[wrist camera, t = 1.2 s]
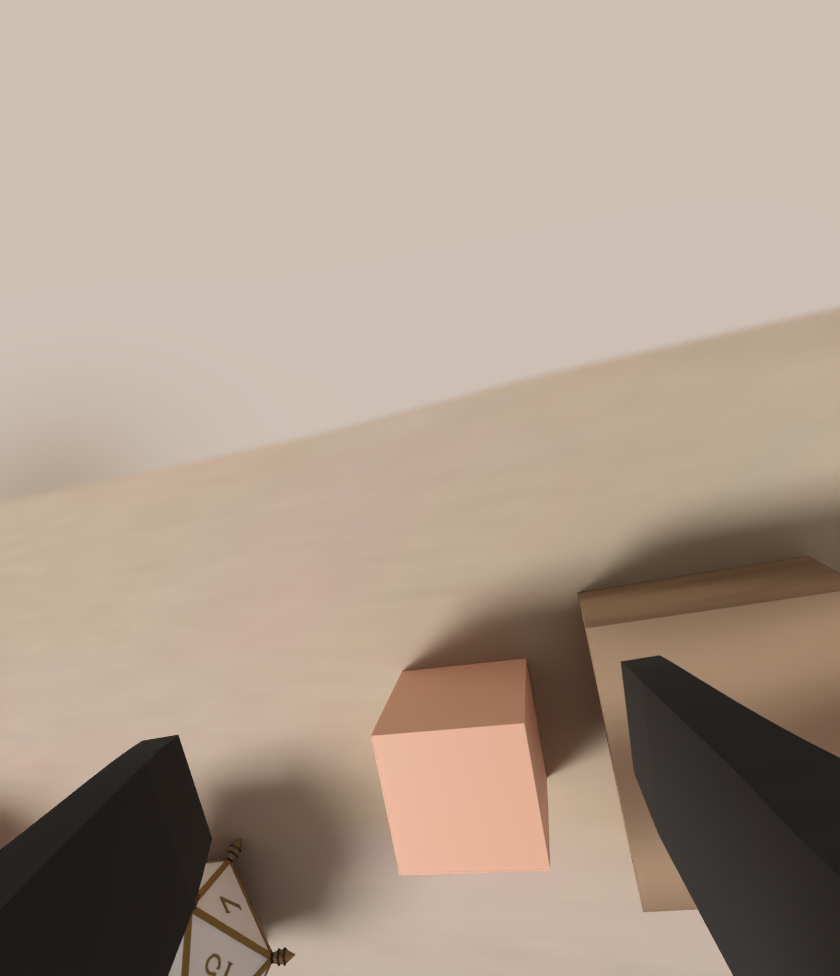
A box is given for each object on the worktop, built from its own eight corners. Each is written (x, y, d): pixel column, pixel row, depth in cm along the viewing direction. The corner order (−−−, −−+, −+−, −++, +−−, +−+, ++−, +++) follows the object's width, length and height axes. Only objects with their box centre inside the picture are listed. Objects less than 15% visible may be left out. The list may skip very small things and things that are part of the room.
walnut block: (847, 812, 23) (912, 898, 19) (625, 829, 24) (643, 911, 20) (804, 553, 22) (864, 587, 18) (576, 590, 23) (585, 628, 19)
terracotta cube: (546, 776, 24) (550, 870, 19) (425, 784, 25) (399, 875, 20) (525, 657, 24) (524, 723, 19) (402, 670, 25) (370, 735, 20)
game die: (257, 870, 32) (126, 1130, 25) (127, 783, 29) (-61, 1053, 22) (366, 899, 26) (230, 1251, 19) (216, 794, 23) (-6, 1168, 16)
